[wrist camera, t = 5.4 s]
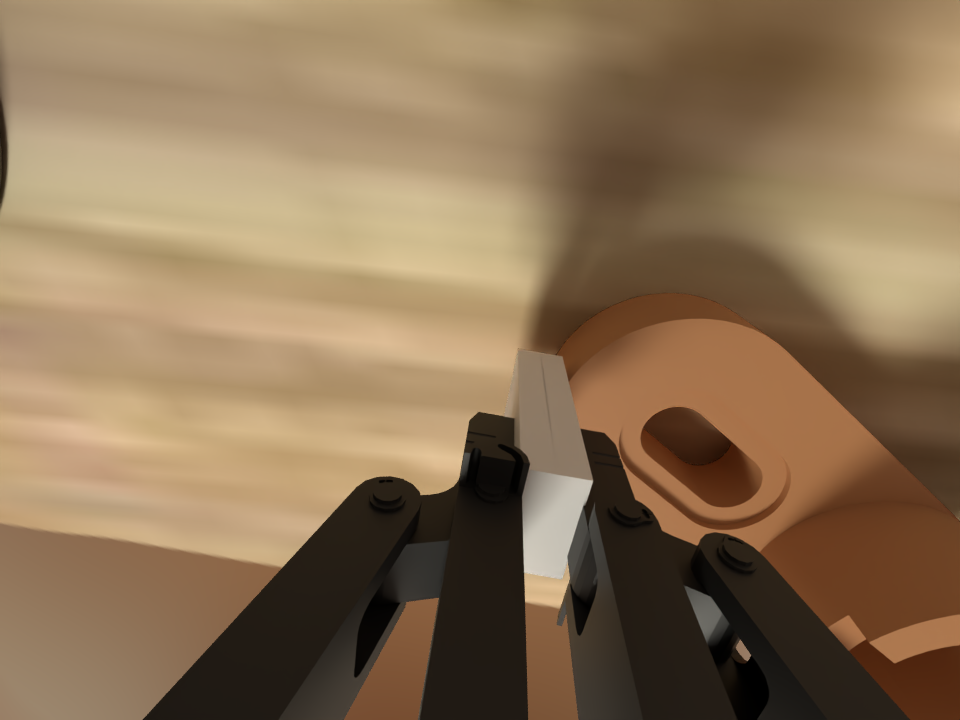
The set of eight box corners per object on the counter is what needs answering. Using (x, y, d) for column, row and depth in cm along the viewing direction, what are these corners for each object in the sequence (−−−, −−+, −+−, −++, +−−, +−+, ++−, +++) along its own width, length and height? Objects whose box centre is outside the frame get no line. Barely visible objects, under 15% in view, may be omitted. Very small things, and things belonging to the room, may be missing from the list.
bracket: (961, 532, 19) (1179, 715, 13) (787, 631, 22) (897, 821, 16) (663, 242, 16) (769, 302, 9) (498, 407, 18) (492, 539, 12)
